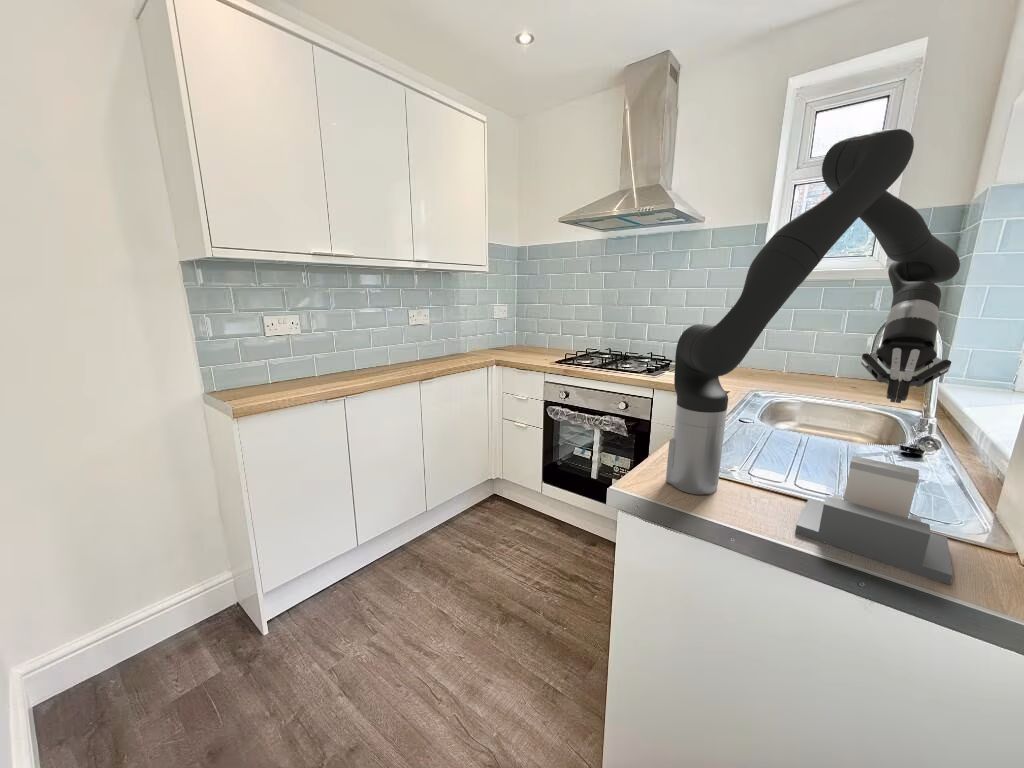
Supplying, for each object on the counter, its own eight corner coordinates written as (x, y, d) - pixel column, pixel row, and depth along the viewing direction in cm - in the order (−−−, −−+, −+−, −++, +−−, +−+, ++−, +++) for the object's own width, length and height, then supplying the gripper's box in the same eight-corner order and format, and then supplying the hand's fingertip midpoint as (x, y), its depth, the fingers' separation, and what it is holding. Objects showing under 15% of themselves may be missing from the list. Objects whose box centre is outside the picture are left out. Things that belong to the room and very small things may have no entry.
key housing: (795, 532, 68) (801, 497, 67) (807, 505, 77) (813, 473, 75) (950, 585, 56) (962, 543, 55) (944, 545, 65) (955, 508, 63)
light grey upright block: (839, 515, 70) (850, 461, 67) (841, 508, 72) (852, 455, 70) (904, 534, 64) (919, 476, 62) (904, 526, 66) (918, 469, 64)
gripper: (868, 314, 83) (851, 383, 77) (963, 317, 74) (952, 395, 68) (865, 338, 88) (848, 404, 82) (954, 343, 79) (943, 418, 73)
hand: (896, 400), depth 75 cm, fingers closed
